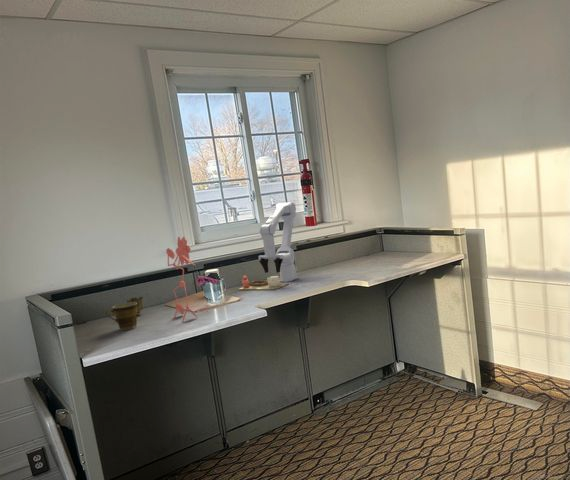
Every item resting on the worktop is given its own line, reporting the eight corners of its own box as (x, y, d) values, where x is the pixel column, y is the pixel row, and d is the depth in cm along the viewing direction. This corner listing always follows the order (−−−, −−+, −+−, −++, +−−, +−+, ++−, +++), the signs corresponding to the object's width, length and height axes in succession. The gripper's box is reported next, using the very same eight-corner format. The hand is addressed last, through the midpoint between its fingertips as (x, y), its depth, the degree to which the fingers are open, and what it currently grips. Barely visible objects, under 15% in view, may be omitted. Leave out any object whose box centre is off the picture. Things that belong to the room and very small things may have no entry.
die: (273, 284, 272) (272, 275, 272) (280, 284, 270) (279, 275, 270) (268, 286, 269) (267, 277, 268) (275, 286, 266) (274, 277, 266)
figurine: (189, 324, 206) (179, 238, 203) (164, 316, 227) (155, 238, 224) (222, 316, 215) (213, 233, 212) (195, 309, 236) (187, 234, 233)
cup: (126, 317, 234) (123, 300, 233) (133, 313, 241) (130, 297, 241) (141, 316, 233) (138, 299, 232) (147, 312, 240) (145, 296, 239)
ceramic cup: (137, 323, 219) (134, 300, 218) (142, 327, 210) (139, 304, 209) (106, 330, 213) (102, 307, 212) (110, 335, 204) (106, 310, 203)
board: (254, 284, 282) (254, 280, 282) (289, 284, 269) (288, 280, 269) (239, 290, 271) (238, 286, 271) (274, 290, 258) (273, 286, 258)
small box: (209, 294, 269) (206, 269, 268) (221, 292, 269) (218, 268, 268) (207, 297, 261) (204, 272, 260) (219, 295, 261) (216, 270, 260)
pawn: (245, 286, 274) (244, 275, 273) (250, 286, 272) (249, 275, 271) (241, 288, 271) (240, 276, 270) (246, 288, 269) (245, 276, 269)
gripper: (253, 248, 268) (257, 274, 270) (276, 247, 260) (279, 273, 261) (261, 246, 274) (264, 271, 275) (284, 245, 266) (287, 271, 267)
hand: (272, 272), depth 269 cm, fingers open, 7 cm apart
